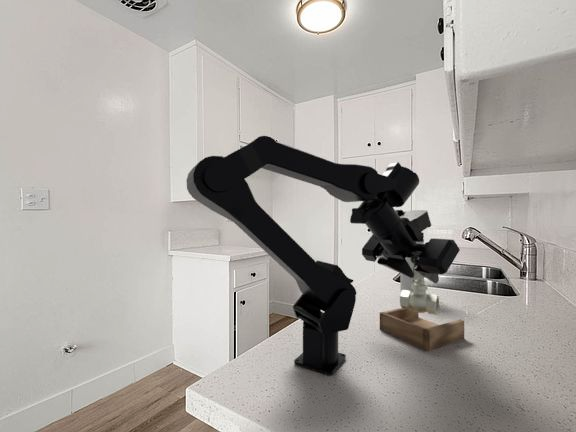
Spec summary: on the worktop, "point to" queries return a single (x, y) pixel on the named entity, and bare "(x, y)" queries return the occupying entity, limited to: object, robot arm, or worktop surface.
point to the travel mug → (406, 280)
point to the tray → (420, 329)
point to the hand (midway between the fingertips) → (424, 278)
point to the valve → (419, 295)
